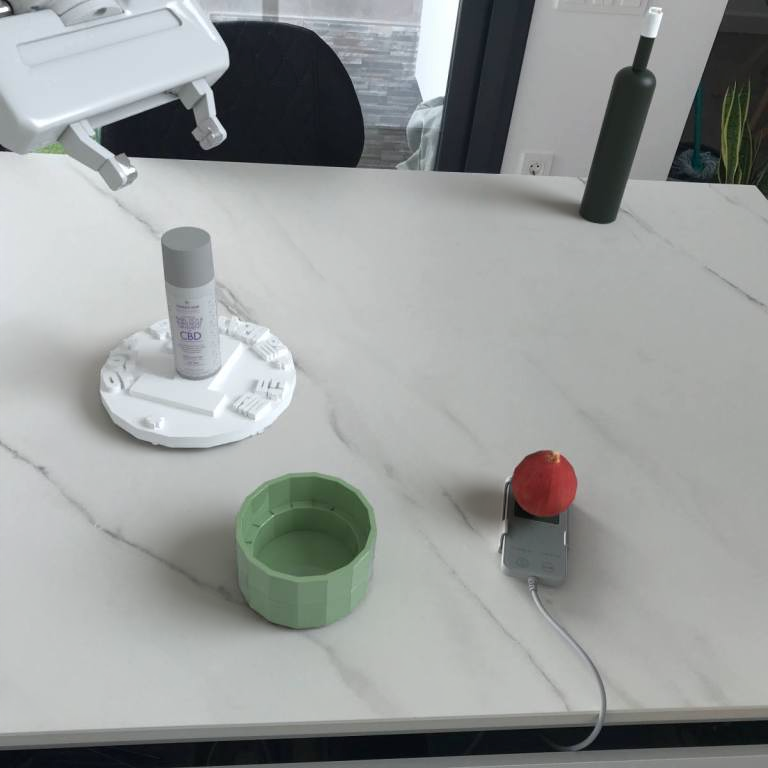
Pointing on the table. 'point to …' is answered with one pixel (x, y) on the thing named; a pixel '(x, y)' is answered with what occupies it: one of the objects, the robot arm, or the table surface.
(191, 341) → the container
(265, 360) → the giant coin
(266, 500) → the green faceted pot
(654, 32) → the wine bottle
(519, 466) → the onion
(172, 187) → the table surface
